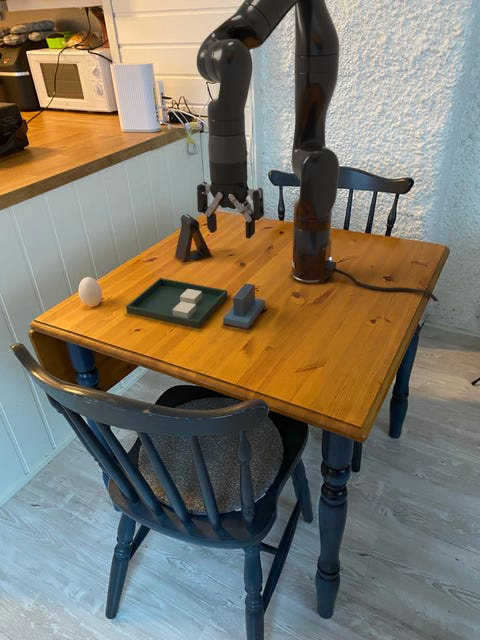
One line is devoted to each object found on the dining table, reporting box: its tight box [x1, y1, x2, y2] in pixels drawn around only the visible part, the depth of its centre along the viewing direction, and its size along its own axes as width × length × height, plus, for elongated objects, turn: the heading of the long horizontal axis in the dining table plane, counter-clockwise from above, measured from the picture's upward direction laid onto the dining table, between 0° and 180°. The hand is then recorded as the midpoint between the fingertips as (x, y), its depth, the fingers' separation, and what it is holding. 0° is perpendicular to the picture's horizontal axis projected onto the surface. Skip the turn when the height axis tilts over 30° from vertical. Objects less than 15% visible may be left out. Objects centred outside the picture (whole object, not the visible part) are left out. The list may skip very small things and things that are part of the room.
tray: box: [125, 277, 229, 330], centre depth 112 cm, size 19×15×2 cm
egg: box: [78, 276, 103, 308], centre depth 113 cm, size 5×5×8 cm
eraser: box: [222, 282, 266, 331], centre depth 106 cm, size 6×10×7 cm, turn 157°
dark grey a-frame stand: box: [174, 213, 212, 263], centre depth 133 cm, size 9×6×12 cm, turn 120°
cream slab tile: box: [173, 302, 196, 319], centre depth 109 cm, size 4×4×2 cm
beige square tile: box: [180, 289, 202, 304], centre depth 114 cm, size 4×4×2 cm
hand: (231, 234), depth 101 cm, fingers open, 8 cm apart
